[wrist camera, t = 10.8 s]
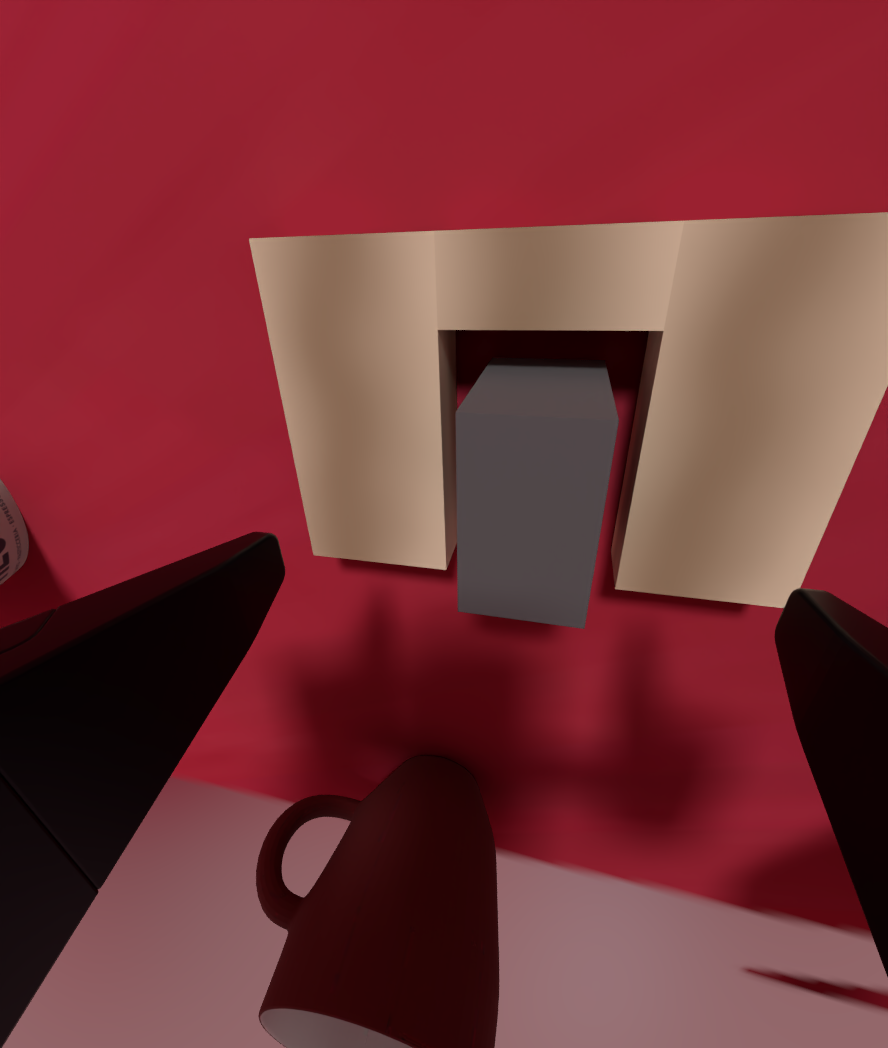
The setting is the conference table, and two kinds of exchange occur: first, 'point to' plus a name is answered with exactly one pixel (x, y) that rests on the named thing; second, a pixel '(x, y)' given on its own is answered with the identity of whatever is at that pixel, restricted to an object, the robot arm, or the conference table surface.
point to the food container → (11, 536)
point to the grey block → (532, 487)
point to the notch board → (663, 399)
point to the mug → (389, 919)
